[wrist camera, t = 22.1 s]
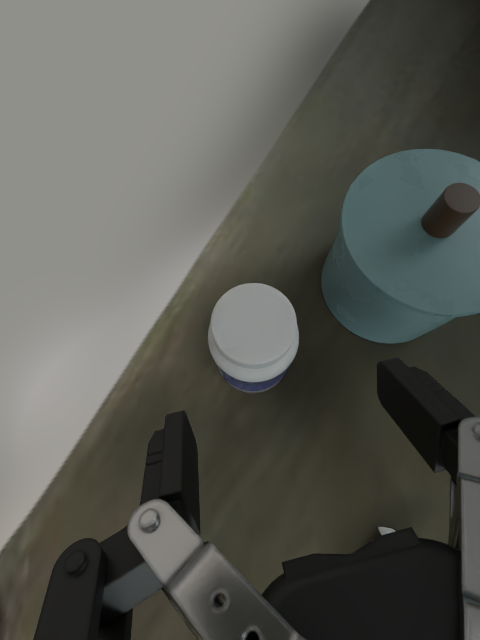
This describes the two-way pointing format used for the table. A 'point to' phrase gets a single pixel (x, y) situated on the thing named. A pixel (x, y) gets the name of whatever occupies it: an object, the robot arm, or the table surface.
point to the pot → (407, 246)
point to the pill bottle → (253, 336)
